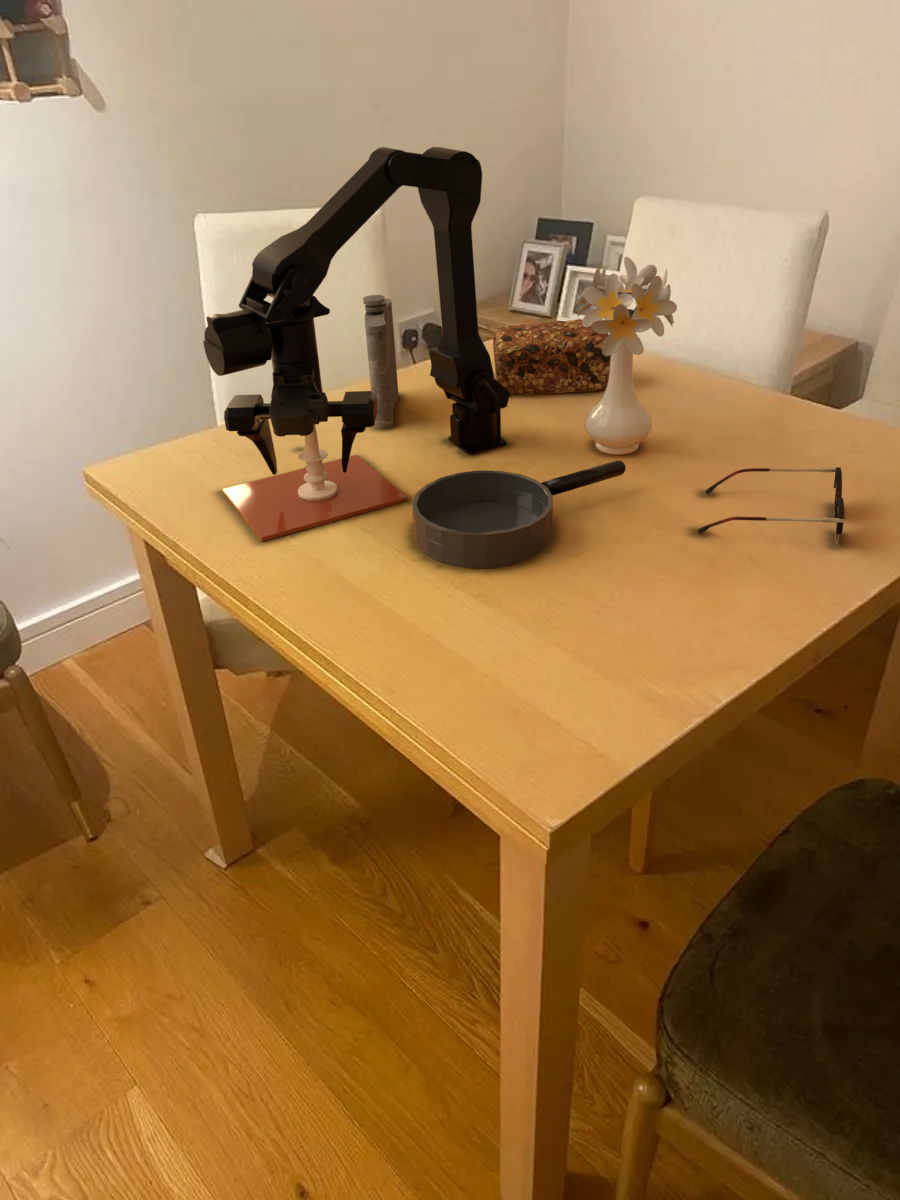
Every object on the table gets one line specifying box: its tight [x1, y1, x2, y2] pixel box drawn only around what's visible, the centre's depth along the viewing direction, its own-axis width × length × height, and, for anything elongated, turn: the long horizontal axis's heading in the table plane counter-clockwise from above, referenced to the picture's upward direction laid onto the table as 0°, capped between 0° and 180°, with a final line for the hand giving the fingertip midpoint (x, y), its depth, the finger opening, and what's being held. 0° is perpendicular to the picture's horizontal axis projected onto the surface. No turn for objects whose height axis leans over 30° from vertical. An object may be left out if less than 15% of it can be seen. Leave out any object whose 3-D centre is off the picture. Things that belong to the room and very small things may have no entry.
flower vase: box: [576, 256, 678, 455], centre depth 131 cm, size 13×18×25 cm
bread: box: [492, 318, 611, 396], centre depth 158 cm, size 19×11×10 cm, turn 89°
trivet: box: [221, 454, 408, 542], centre depth 129 cm, size 20×16×1 cm
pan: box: [411, 469, 554, 569], centre depth 118 cm, size 17×17×4 cm
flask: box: [362, 294, 400, 430], centre depth 149 cm, size 4×14×18 cm, turn 179°
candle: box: [298, 424, 337, 501], centre depth 126 cm, size 5×5×10 cm
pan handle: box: [540, 459, 627, 497], centre depth 123 cm, size 13×2×2 cm, turn 119°
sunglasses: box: [697, 466, 845, 544], centre depth 118 cm, size 14×16×5 cm
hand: (310, 472), depth 127 cm, fingers open, 9 cm apart
